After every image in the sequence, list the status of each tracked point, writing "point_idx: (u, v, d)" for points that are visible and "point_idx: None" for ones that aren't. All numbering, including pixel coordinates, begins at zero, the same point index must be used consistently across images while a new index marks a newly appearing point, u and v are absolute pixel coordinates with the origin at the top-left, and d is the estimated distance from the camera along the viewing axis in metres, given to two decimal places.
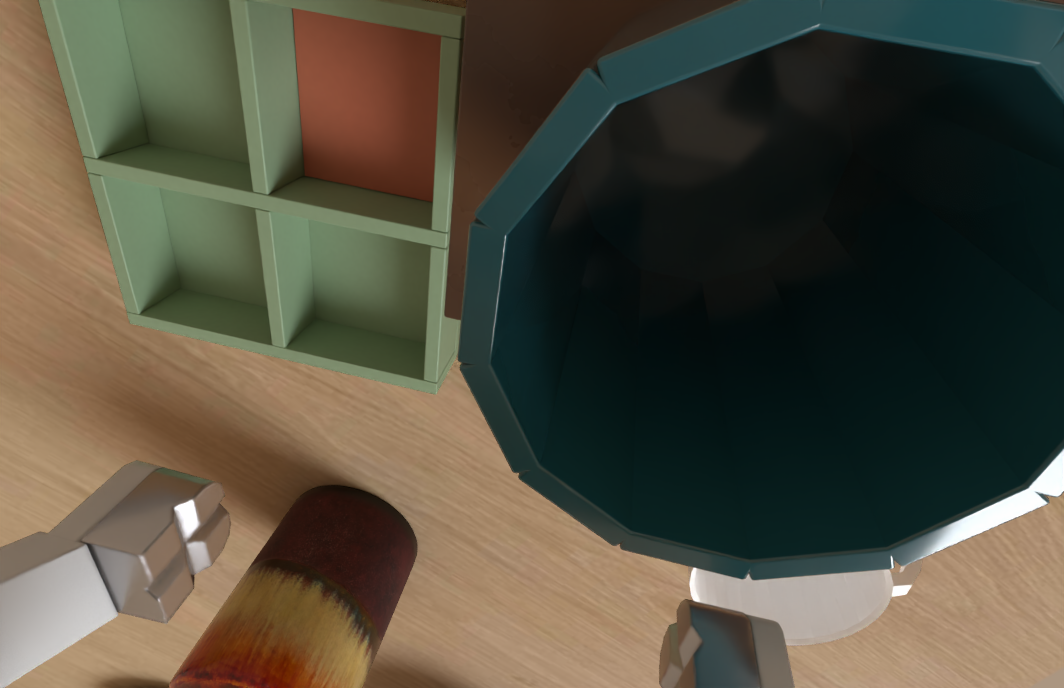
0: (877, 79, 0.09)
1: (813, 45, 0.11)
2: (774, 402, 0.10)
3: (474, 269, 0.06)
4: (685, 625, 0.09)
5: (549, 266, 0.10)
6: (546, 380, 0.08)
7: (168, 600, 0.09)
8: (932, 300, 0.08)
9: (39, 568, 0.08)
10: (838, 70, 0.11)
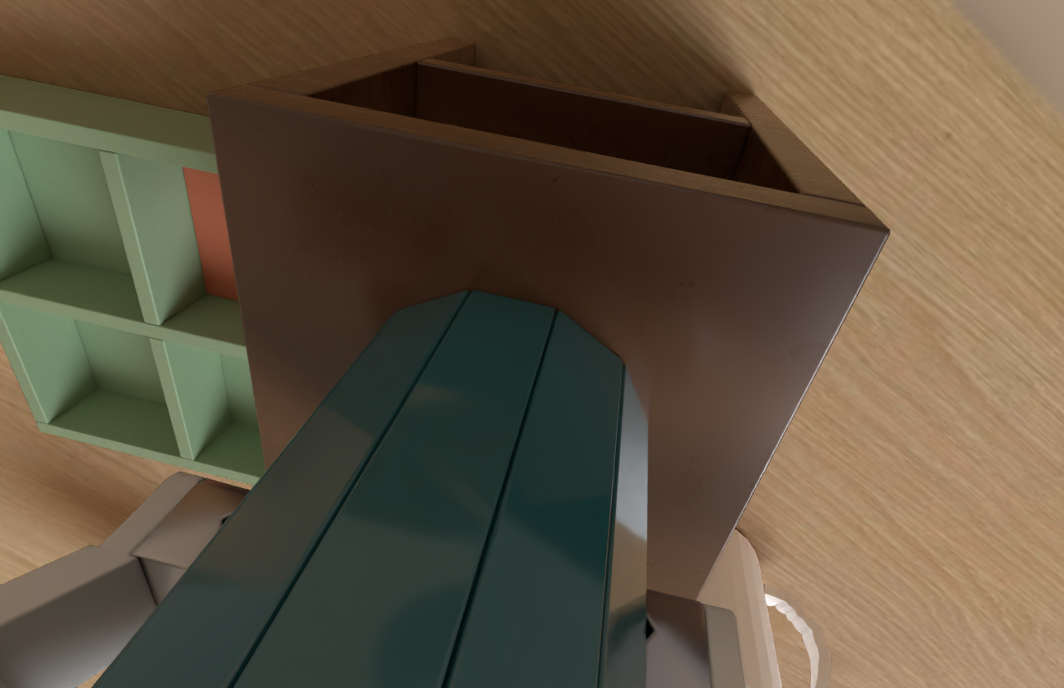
0: None
1: None
2: None
3: None
4: None
5: None
6: None
7: None
8: None
9: (92, 583, 0.08)
10: None
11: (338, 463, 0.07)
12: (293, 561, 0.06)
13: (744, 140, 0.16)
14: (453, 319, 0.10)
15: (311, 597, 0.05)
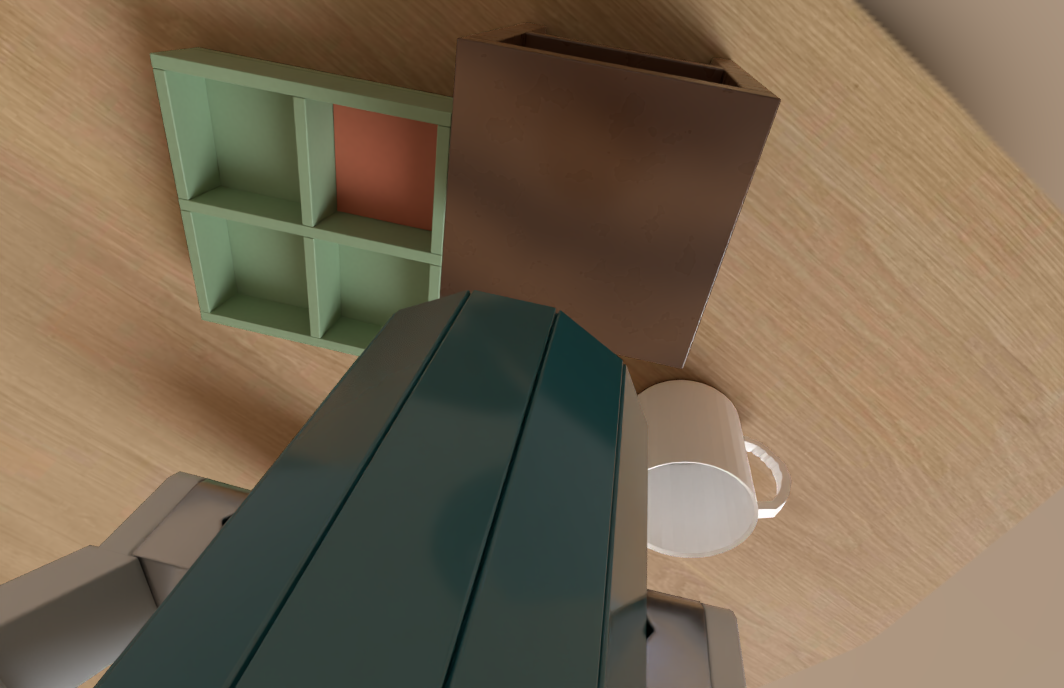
0: None
1: None
2: None
3: None
4: None
5: None
6: None
7: None
8: None
9: (93, 582, 0.08)
10: None
11: (340, 463, 0.07)
12: (295, 562, 0.06)
13: (720, 79, 0.27)
14: (454, 319, 0.10)
15: (313, 596, 0.06)
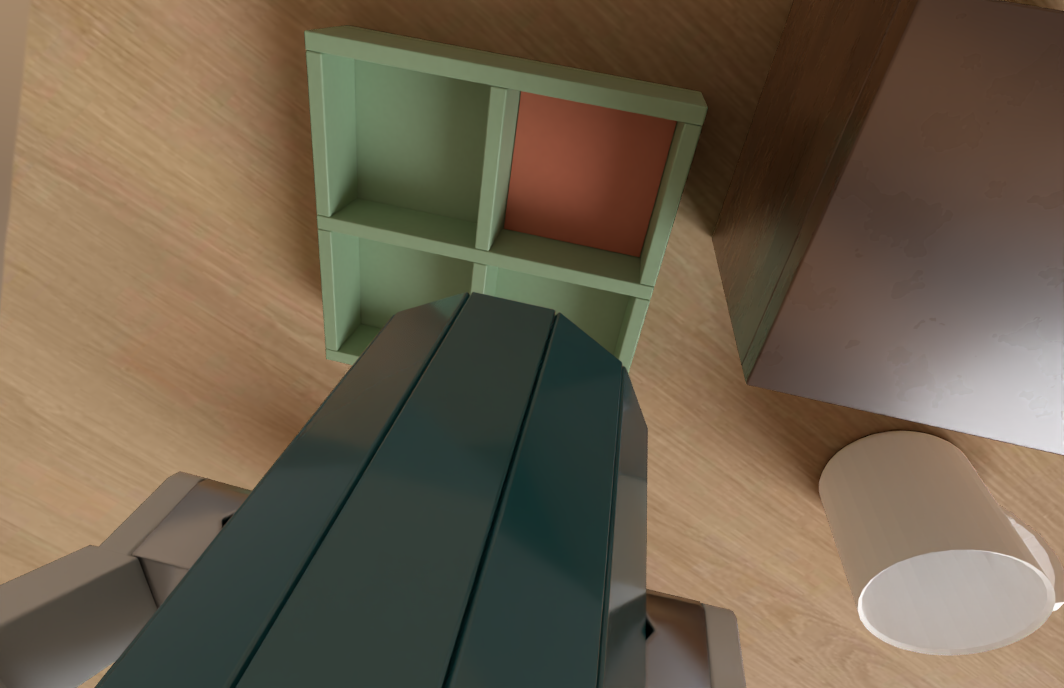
0: None
1: None
2: None
3: None
4: None
5: None
6: None
7: None
8: None
9: (92, 582, 0.08)
10: None
11: (338, 466, 0.07)
12: (293, 566, 0.06)
13: None
14: (453, 321, 0.10)
15: (310, 601, 0.06)
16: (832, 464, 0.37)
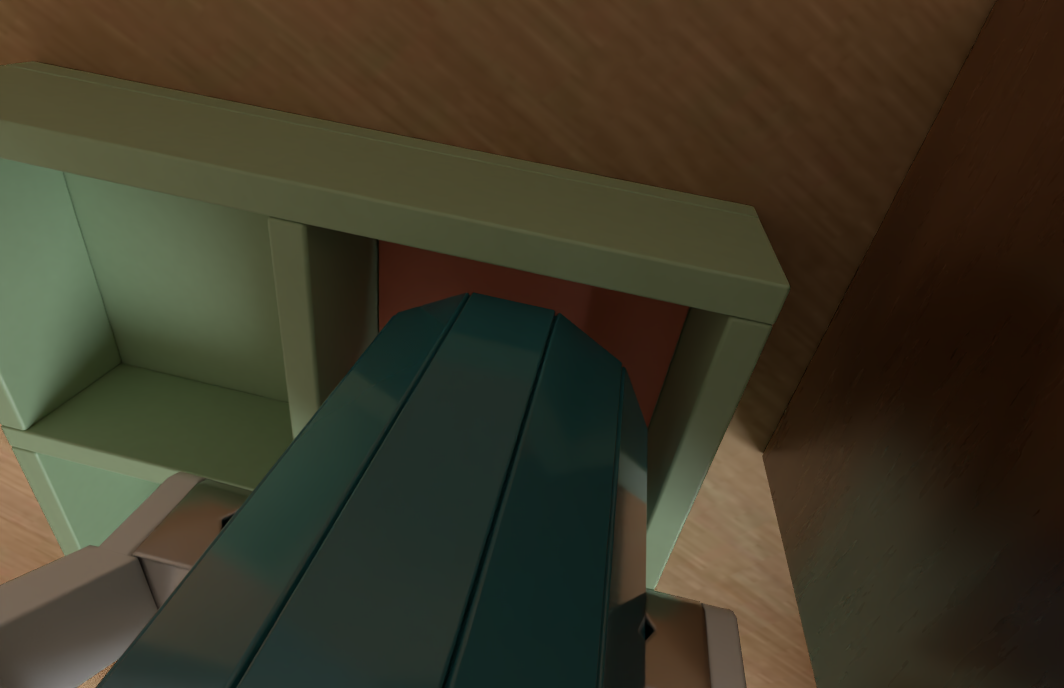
0: None
1: None
2: None
3: None
4: None
5: None
6: None
7: None
8: None
9: (93, 583, 0.08)
10: None
11: (338, 466, 0.07)
12: (293, 566, 0.06)
13: None
14: (453, 322, 0.10)
15: (311, 601, 0.06)
16: None
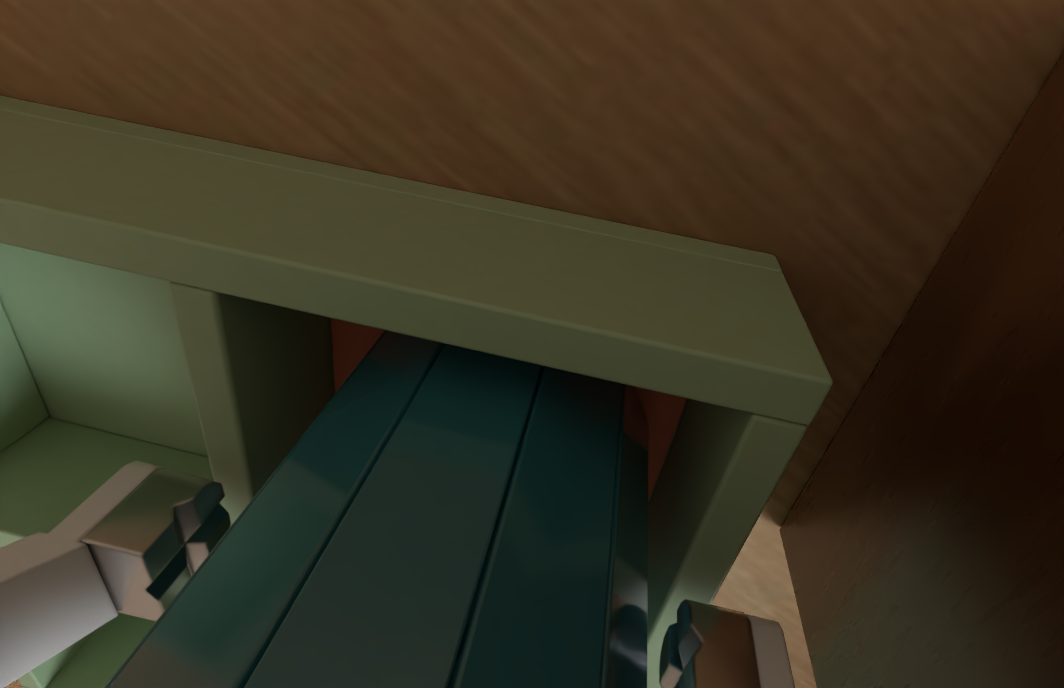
0: None
1: None
2: None
3: None
4: (686, 624, 0.09)
5: None
6: None
7: (168, 600, 0.09)
8: None
9: (38, 568, 0.08)
10: None
11: (350, 457, 0.07)
12: (309, 550, 0.06)
13: None
14: None
15: (327, 583, 0.06)
16: None
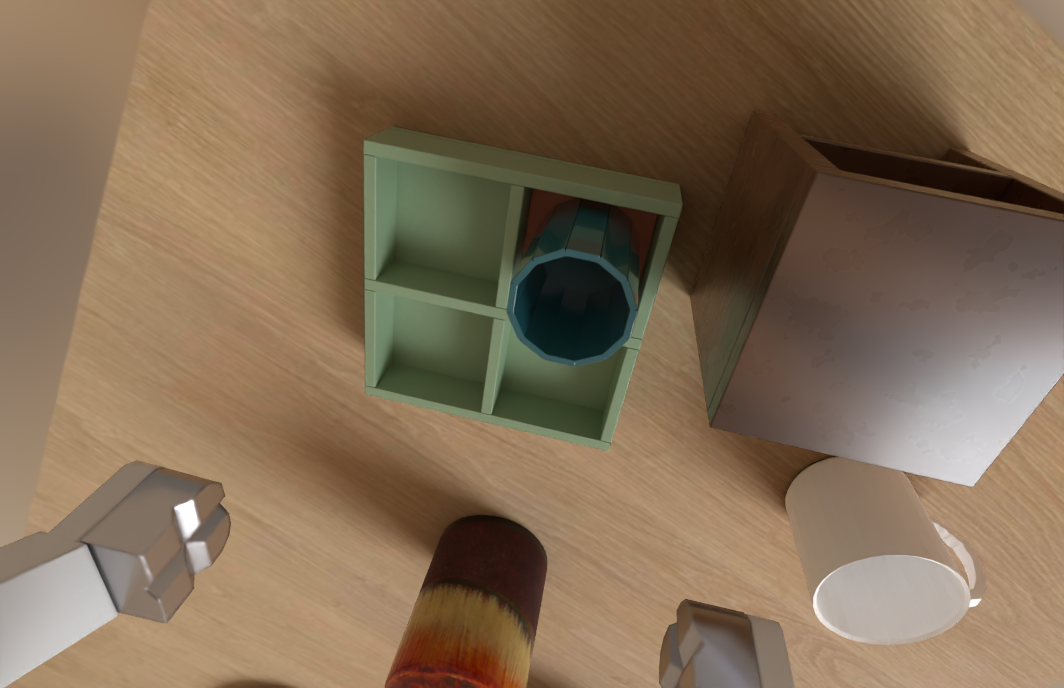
0: None
1: None
2: (593, 329, 0.33)
3: (511, 291, 0.29)
4: (686, 625, 0.09)
5: (528, 289, 0.33)
6: (526, 319, 0.31)
7: (168, 600, 0.09)
8: (627, 299, 0.32)
9: (39, 568, 0.08)
10: None
11: (567, 223, 0.31)
12: (569, 230, 0.30)
13: (1007, 186, 0.26)
14: (581, 201, 0.34)
15: (575, 233, 0.29)
16: (795, 483, 0.44)
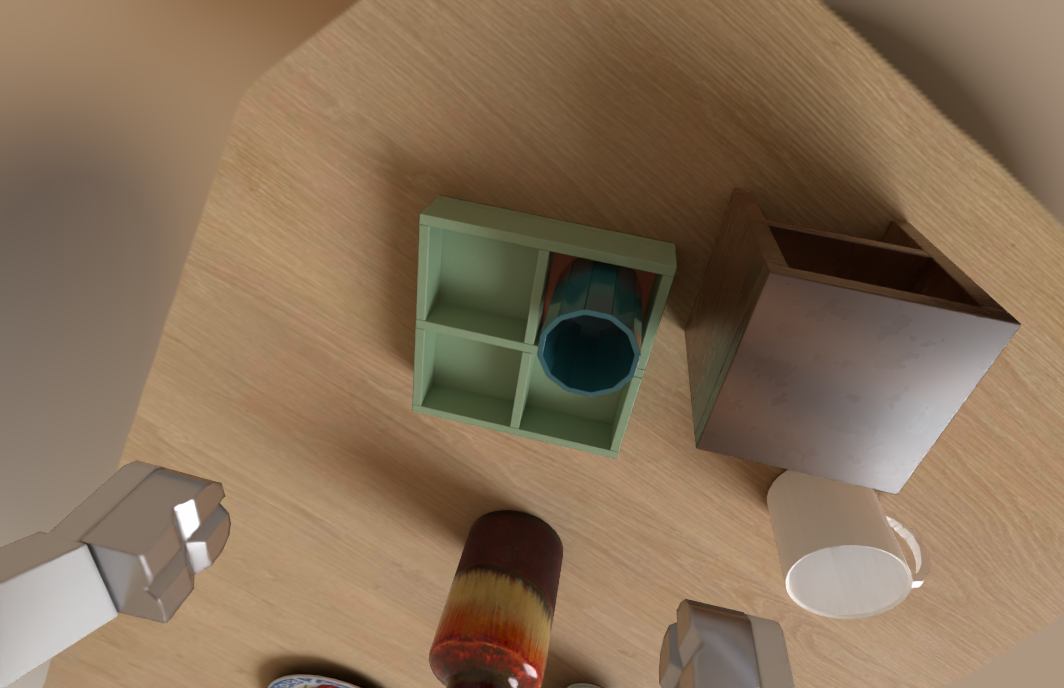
0: None
1: None
2: (605, 364, 0.41)
3: (540, 340, 0.37)
4: (685, 625, 0.09)
5: (552, 332, 0.41)
6: (551, 358, 0.39)
7: (168, 600, 0.09)
8: None
9: (39, 568, 0.08)
10: None
11: (584, 282, 0.39)
12: (586, 290, 0.37)
13: (926, 263, 0.34)
14: None
15: (591, 293, 0.37)
16: (775, 484, 0.52)
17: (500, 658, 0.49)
